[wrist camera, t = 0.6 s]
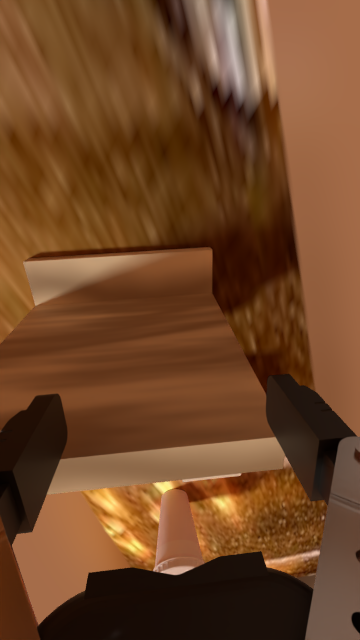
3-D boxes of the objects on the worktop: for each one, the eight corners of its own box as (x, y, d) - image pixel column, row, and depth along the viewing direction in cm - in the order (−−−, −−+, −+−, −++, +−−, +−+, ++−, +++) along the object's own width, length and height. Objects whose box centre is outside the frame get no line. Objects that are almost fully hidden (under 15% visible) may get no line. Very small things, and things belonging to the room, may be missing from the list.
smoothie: (144, 490, 40) (141, 632, 28) (188, 477, 40) (205, 614, 27) (161, 516, 43) (165, 655, 31) (202, 503, 43) (223, 639, 30)
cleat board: (28, 258, 25) (-185, 395, 9) (209, 247, 26) (301, 353, 10) (51, 342, 29) (-73, 544, 13) (209, 329, 30) (276, 503, 14)
